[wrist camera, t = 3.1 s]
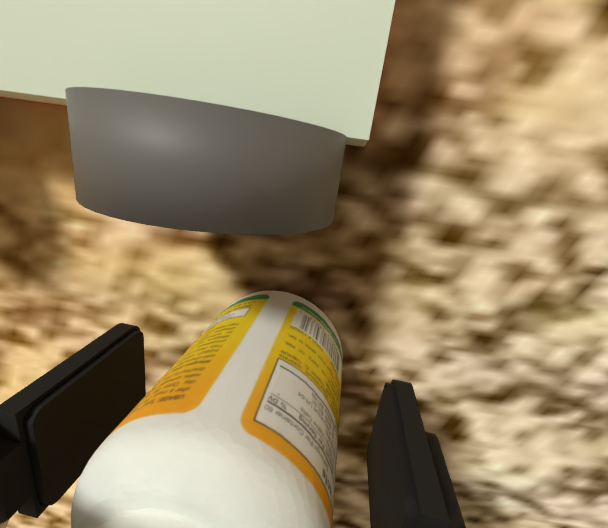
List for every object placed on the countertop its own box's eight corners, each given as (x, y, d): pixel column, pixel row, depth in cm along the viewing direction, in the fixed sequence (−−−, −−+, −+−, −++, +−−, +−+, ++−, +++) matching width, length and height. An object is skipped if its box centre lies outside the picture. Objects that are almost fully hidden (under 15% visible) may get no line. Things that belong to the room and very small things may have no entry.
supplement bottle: (357, 303, 12) (374, 795, 3) (327, 414, 13) (276, 938, 4) (220, 272, 12) (-179, 597, 3) (209, 382, 14) (-63, 798, 5)
